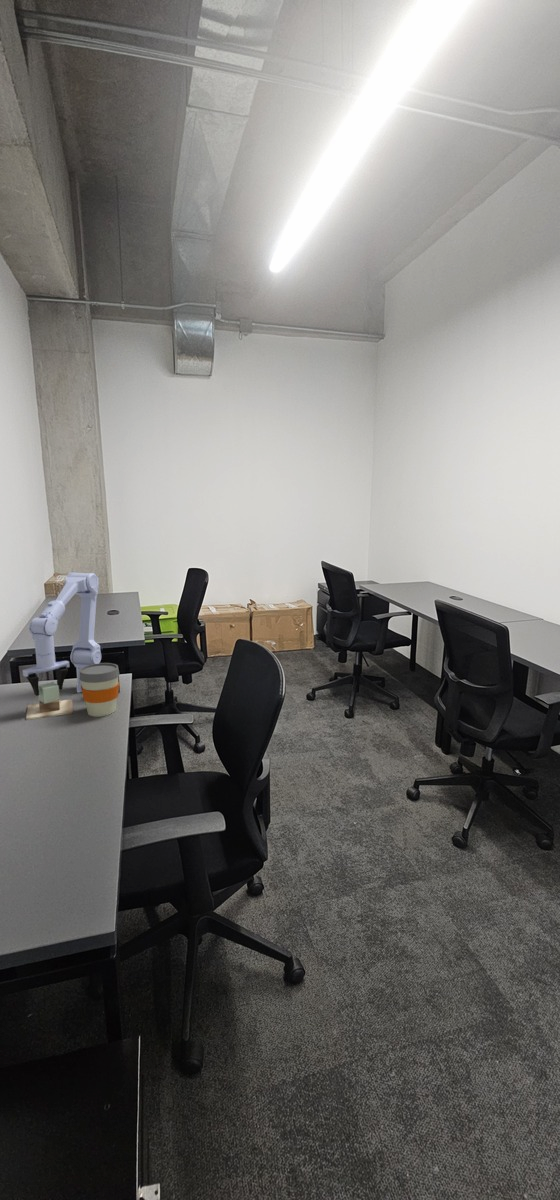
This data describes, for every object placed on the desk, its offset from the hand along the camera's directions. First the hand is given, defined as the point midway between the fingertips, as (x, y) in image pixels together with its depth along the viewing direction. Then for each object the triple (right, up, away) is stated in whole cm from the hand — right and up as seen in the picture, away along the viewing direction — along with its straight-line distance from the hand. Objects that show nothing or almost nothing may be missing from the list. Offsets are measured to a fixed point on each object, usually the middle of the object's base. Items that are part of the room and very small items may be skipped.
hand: (48, 692), depth 169 cm
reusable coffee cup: (+18, -7, 0) cm, 19 cm away
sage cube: (0, -3, +1) cm, 3 cm away
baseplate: (0, -6, +1) cm, 6 cm away
